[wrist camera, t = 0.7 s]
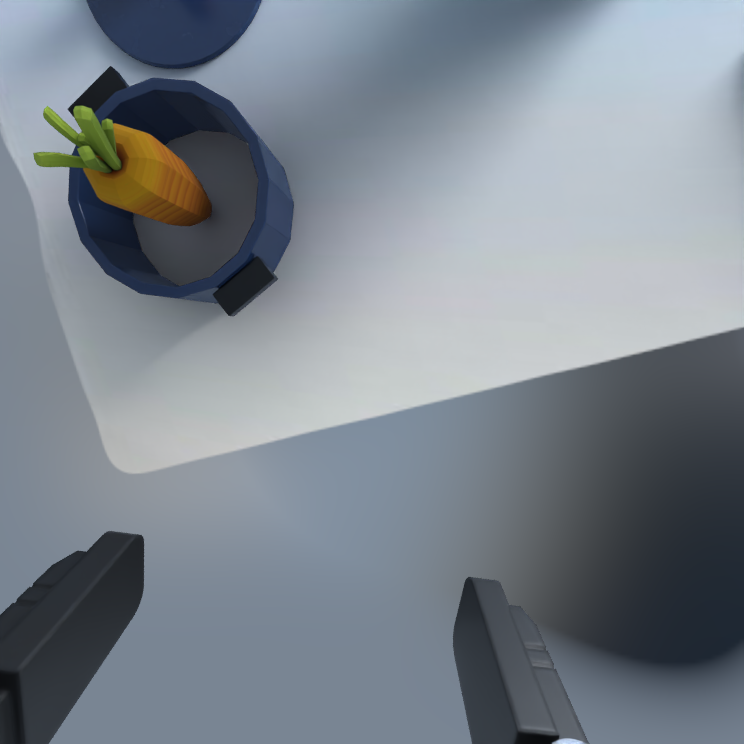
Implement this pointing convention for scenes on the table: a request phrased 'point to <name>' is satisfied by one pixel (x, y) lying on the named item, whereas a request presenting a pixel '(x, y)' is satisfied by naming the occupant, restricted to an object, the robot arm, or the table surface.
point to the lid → (174, 28)
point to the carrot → (130, 169)
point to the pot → (164, 122)
